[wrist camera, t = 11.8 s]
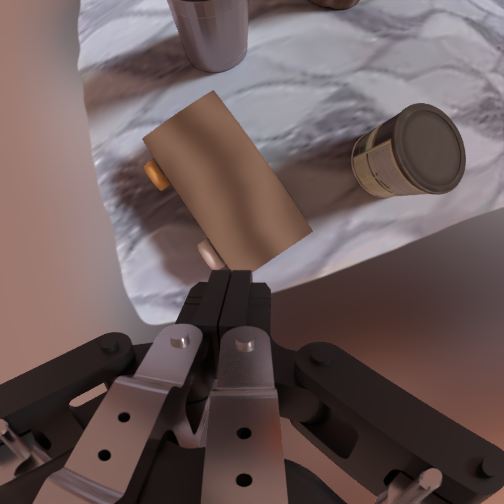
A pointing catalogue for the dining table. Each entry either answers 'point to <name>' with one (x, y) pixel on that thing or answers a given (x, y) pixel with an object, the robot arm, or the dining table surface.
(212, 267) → the ivory button
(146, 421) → the robot arm
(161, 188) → the amber button
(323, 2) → the plant pot
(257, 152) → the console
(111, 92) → the dining table surface
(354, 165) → the coffee can
